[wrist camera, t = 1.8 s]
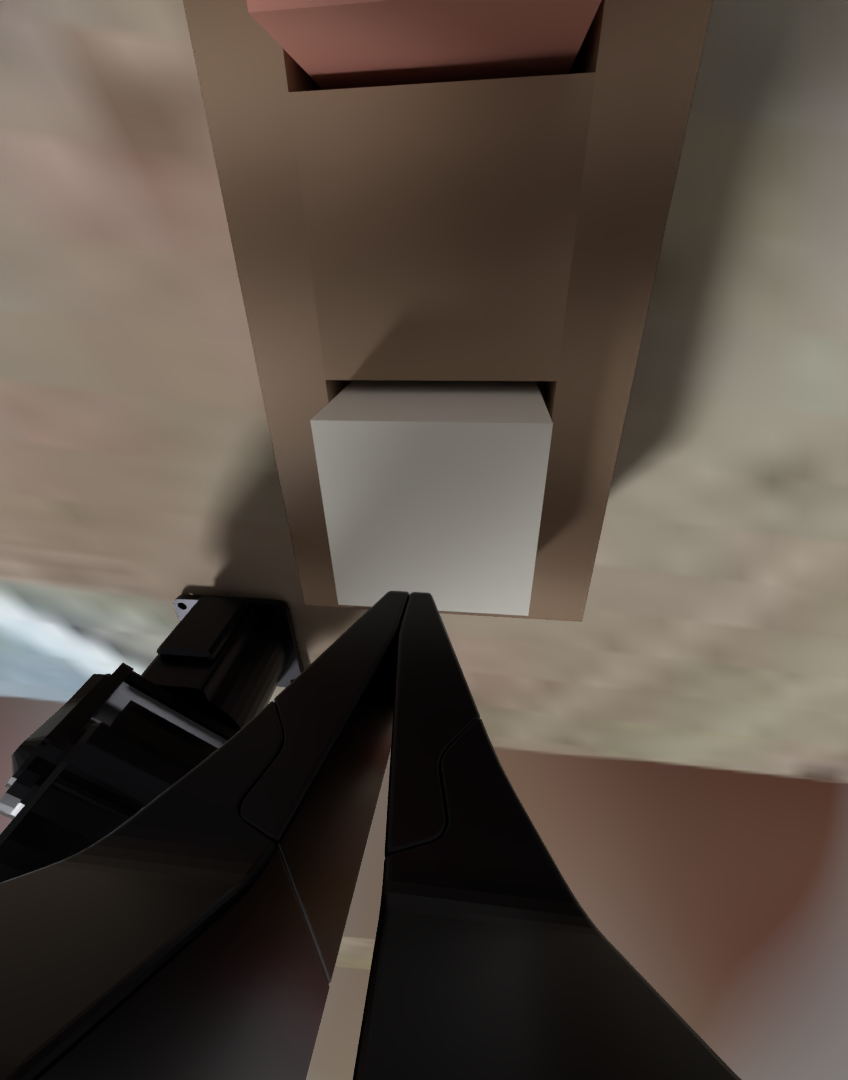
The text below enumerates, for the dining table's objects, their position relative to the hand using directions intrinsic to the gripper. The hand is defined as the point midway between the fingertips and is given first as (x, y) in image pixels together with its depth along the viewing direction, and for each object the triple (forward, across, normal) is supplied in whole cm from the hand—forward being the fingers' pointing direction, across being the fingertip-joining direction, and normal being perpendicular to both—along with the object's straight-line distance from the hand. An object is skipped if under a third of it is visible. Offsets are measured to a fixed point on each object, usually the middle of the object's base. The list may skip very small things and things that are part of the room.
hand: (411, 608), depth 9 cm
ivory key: (+7, 0, 0) cm, 7 cm away
